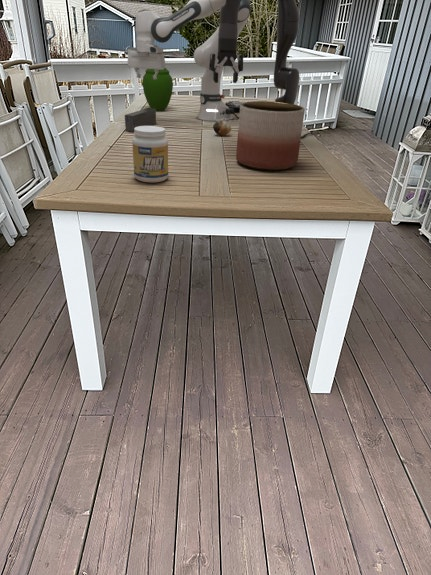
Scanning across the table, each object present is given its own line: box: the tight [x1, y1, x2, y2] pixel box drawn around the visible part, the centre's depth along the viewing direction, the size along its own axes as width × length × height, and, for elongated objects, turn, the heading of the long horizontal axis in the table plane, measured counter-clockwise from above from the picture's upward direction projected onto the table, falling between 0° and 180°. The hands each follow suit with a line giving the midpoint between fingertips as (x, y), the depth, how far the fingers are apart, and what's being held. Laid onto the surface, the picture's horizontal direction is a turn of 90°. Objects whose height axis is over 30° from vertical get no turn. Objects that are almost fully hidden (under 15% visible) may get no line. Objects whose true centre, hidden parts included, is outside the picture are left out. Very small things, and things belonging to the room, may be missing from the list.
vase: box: [141, 67, 174, 112], centre depth 261 cm, size 20×20×24 cm
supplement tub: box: [131, 125, 169, 183], centre depth 142 cm, size 12×12×17 cm
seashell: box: [212, 119, 232, 136], centre depth 209 cm, size 10×6×8 cm, turn 97°
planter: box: [235, 100, 306, 171], centre depth 164 cm, size 25×25×22 cm
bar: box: [124, 107, 157, 134], centre depth 218 cm, size 26×5×8 cm, turn 161°
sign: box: [224, 100, 244, 114], centre depth 286 cm, size 19×3×30 cm
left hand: (146, 78), depth 215 cm, fingers open, 8 cm apart
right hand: (225, 82), depth 170 cm, fingers open, 8 cm apart
